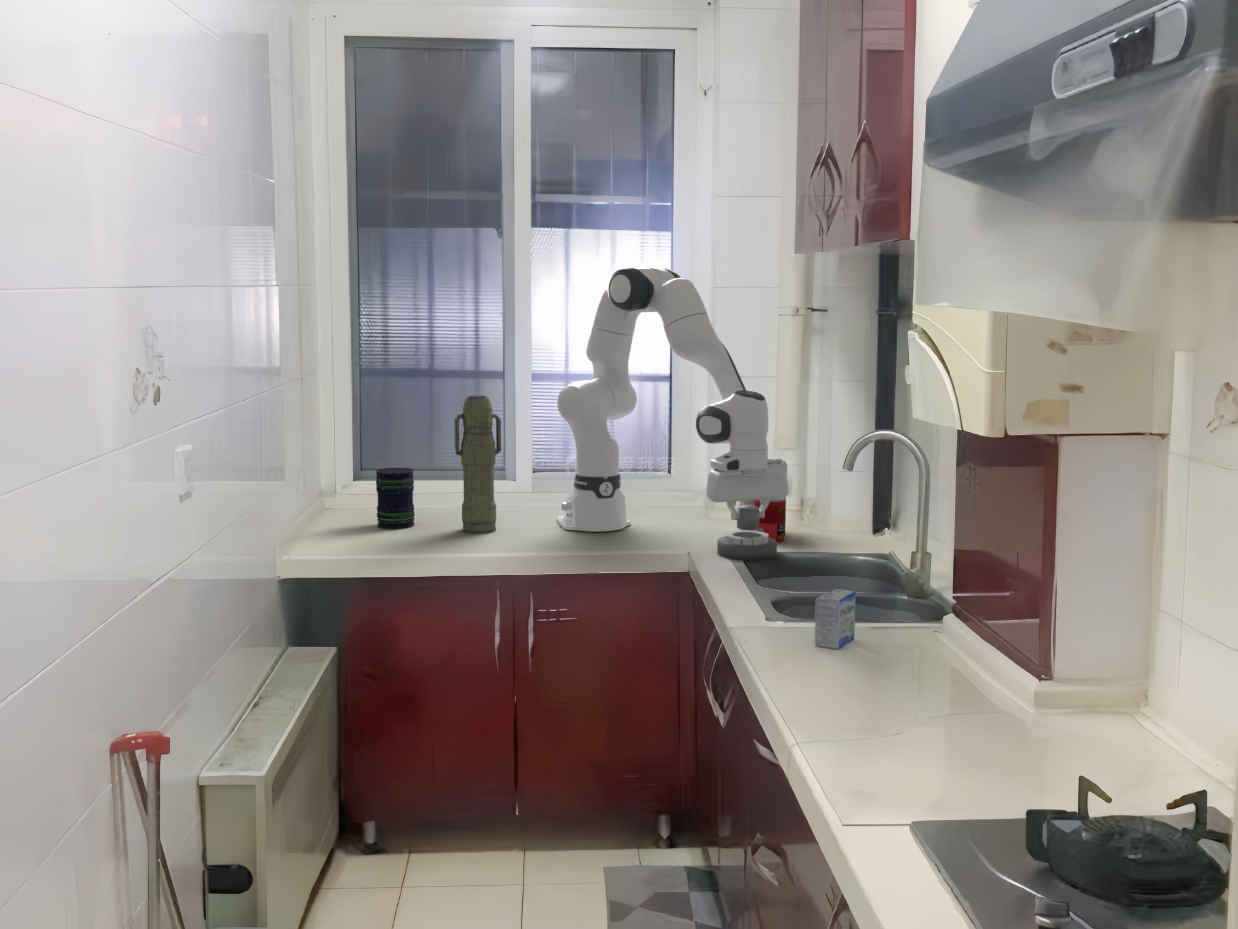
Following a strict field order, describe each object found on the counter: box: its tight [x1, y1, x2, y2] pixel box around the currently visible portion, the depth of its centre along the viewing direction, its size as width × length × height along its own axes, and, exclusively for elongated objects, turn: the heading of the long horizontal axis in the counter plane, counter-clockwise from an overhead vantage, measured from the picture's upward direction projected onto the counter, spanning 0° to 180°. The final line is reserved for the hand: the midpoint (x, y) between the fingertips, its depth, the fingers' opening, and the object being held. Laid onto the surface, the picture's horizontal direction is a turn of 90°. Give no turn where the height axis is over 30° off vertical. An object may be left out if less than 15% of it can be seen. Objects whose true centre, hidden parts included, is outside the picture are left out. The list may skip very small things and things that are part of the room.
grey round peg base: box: [716, 530, 778, 561], centre depth 267 cm, size 14×14×4 cm
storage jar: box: [375, 467, 415, 530], centre depth 299 cm, size 10×10×15 cm
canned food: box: [753, 496, 787, 543], centre depth 282 cm, size 8×8×11 cm
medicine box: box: [814, 588, 856, 651], centre depth 195 cm, size 8×4×9 cm, turn 148°
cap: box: [736, 505, 759, 530], centre depth 266 cm, size 5×5×5 cm
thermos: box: [454, 395, 502, 534], centre depth 292 cm, size 9×12×35 cm
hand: (747, 518), depth 266 cm, fingers closed on cap, 5 cm apart
